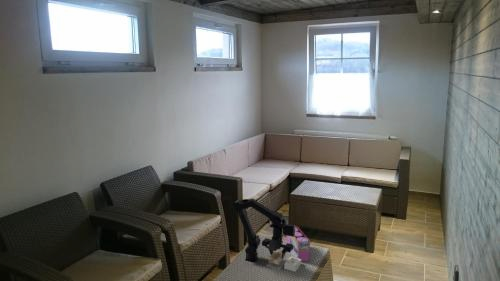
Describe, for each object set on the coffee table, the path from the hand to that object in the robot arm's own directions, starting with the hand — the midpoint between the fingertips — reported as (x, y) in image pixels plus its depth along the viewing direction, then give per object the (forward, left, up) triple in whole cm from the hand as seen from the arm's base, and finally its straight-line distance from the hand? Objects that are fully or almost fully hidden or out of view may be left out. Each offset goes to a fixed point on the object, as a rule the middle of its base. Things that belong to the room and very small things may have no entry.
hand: (277, 257), depth 228 cm
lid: (0, 0, -1) cm, 1 cm away
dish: (+10, +1, -4) cm, 11 cm away
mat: (0, 0, -4) cm, 4 cm away
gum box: (+6, +18, -4) cm, 20 cm away
